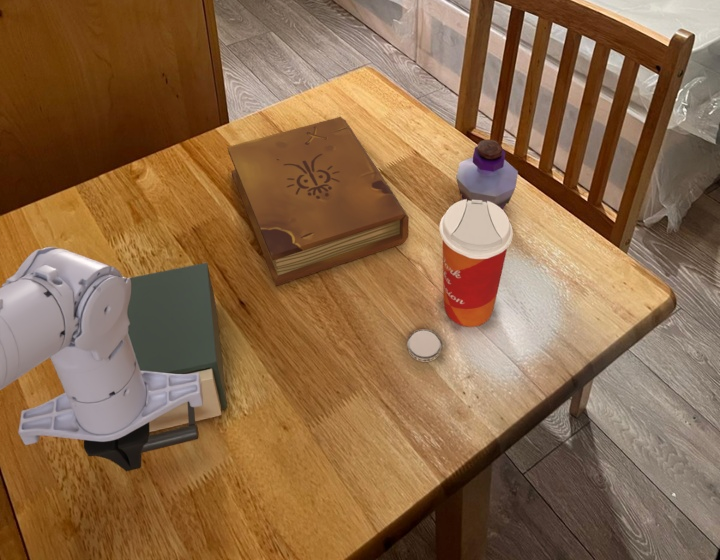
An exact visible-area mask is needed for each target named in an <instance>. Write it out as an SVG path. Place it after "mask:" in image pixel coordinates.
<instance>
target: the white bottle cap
mask: <svg viewBox="0 0 720 560" xmlns="http://www.w3.org/2000/svg"><path fill="white" fill-rule="evenodd" d="M406 349H407V352H408V354H409V355H410V356H411V357H412V359H414V360H416V361H417V362H423V363H427V362H432V361H434V360H436V359H438V357H439V356H440V354H441V352H442V340H441V338H440V336H439V335H438V334H437V333H436V332H434V330H430V329H427V328H421V329H416V330H414V331H413V332H411V333H410V334H409V336H408V338H407V342H406Z"/></svg>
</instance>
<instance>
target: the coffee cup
mask: <svg viewBox="0 0 720 560" xmlns="http://www.w3.org/2000/svg"><path fill="white" fill-rule="evenodd" d="M438 228H439V235H440V238H441V240H442V285H443V286H442V288H443V289H442V290H443V291H442V292H443V306H444V311H445V313H446V315H447V316H448V318H449V319H450V320H451V321H452V322H453V323H455V324H457V325H459V326H462V327H467V328H474V327H480V326H482V325H484V324H485V323H487V322H488V321H489V320H490V318H491V316H492V315H493V313H494V312H493V311H494V308H495V304H496V300H497V296H498V291H499V287H500V283H501V279H502V273H503V269H504V264H505V260H506V255H507V252H508V248H509V247H510V246H511V243H512V241H513V237H514V230H513V225H512V224H511V222H510V219H509V217H508V214H507V213H506V212H505V211H504V210H502V209H501V208H500V207H499V206H497V205H496V204H494V203H492V202H489V201H487V203H486V202H482V200H472V201H468V202H467V199H465V200H463V199H460V200H459V201H457V202H455V203H453V204H451V205H450V207H449V208H447V210H446V211H445V213H444V214H443V216H442V217H441V219H440V221H439V226H438Z"/></svg>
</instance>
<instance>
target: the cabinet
mask: <svg viewBox="0 0 720 560" xmlns="http://www.w3.org/2000/svg"><path fill="white" fill-rule="evenodd" d="M209 269H210V268H209V265H208V262H202V263H198V264H193V265H192V264H191V265H187V266H183V267H177V268H172V269H167V270H162V271H157V272H152V273H147V274H142V275H136V276H132V277H129V278H130V280H131V296H130V301H129V305H128V310H127V315H128V319H129V322H130V325H129V326H128V334H129V337H130V340H131V344H132V347H133V350H134V353H135V356H136V359H137V362H138V365H139V369H140V371H149V372H160V373H170V374H184V373H188V372H192V371H197V370H201V369H206V368H210V369H212V370H213V375H214V379H215V383H216V388H217V392H218V396H219V400H220V405H221V410H225V409H227V408H228V402H227V393H226V384H225V383H226V382H225V374H224V366H223V365H224V364H223V355H222V346H221V345H222V344H221V335H220V327H219V316H218V308H217V303H216V298H215V294H214V288H213V284H212V279H211V274H210V270H209ZM126 280H127V278H126Z"/></svg>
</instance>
